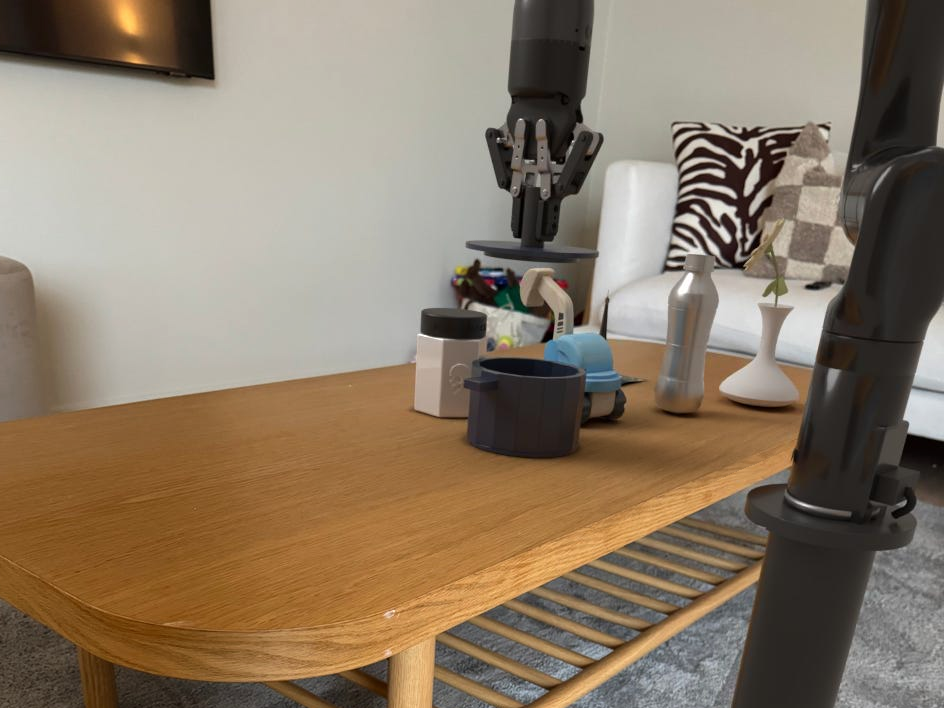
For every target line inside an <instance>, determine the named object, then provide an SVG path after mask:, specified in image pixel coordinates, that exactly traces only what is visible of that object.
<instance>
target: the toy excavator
mask: <svg viewBox="0 0 944 708" xmlns="http://www.w3.org/2000/svg"><path fill="white" fill-rule="evenodd" d="M555 273H556V272H555V270H554V269H553V268H551V267H534V268H530V269H528V270H527V271H526V272H525V273H524V275H523V277H522V279H521V282H520V286H519V295H520V301H521V302H522V304H523V305H524V306H525V307H526V308H529V307H530V308H531V307H532V308H533V307H543V306H544V302H546V303H547V305H548V306H549V308H550V309H551V310H552V312H553V313H554V329H553V337H552V339H550V340H548V341H547V342H546V343H545V346H544V351H543V359H545V360H552V361H558V362H563V363H567V364H572V365H575V366H577V367H580V368H584V369H586V373H587V375H586V384H585V392H584V400H583V408H582V417H581V425H582V424H585V423H586V422H587V421H588V420H589V419H593V418H598V417H599V418H601V419H604V420H606V421H611V420H617V419H620V418H621V417H622V416H623V415H624V414H625V411H626V408H625V404H626V403H627V397H626V394H625V392H624V391H623V389H622V384H621V379H622V377H621V376H620V375H621V374H619V375H618V371H617V370H616V369H615V368H614V355H613V351H612V349H611V346H610V344H609V343H608V340H607V341H606V340H605V339H604V338H603V337H602V336H601V335H599V333H596V332H582V333H581V332H580V333H574V325H575V323H574V319H575V316H574V304H573V301H572V299H571V297H570V296H569V294H568V293H566V291H565V290H564V289H563V288H562V287H561V286H559V284H558V283H557V282H556V281H555V280H554V276H555Z"/></svg>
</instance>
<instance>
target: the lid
mask: <svg viewBox="0 0 944 708" xmlns="http://www.w3.org/2000/svg"><path fill="white" fill-rule="evenodd" d="M539 200H540V201H543V199H542V198H541V194H540V186H536V187H533V186H526V187H525V198H524V210H523V222H522V234H521V239H520V241H513V240H512V241H511V240H487V239H485V240H479V239H478V240H477V239H476V240H475V239H474V240H466V241H465V242H464V244H465V245H464V246H465V248H466V249H469V250H474V251H478V252H483V256H485V257H489V258H494V259H503V260H510V261H519V262H520V261H522V262H531V263H547V264H576V263H579V262H580V260H582V259H583V260H587V259H598V258H599V257H600V256H599V255H600V251H599V250H596V249H591V248H585V247H579V246H578V247H577V246H569V245H560V244H553V243H545V242H542V241H537V240H536V238H535V234H536V223H537V212H538V201H539Z"/></svg>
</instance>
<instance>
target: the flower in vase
mask: <svg viewBox="0 0 944 708" xmlns="http://www.w3.org/2000/svg"><path fill="white" fill-rule="evenodd" d="M785 223H786V222H785V217H782V218H781V219H780V218H779V219H777V220H776V222H775V223H774V225H773V227H772V229H771V231H770V232H766V233H765V234H764V236H763V237H762V240H761V244H759V246H758V247H757V248H755V249H753V250H752V251H751V253H750V255H749V256H750V258H749V259H748V260H747V261H746V262H745V263H744V265H742V266H743V268H744V270H743V271H744V272H749V271H750V270H751V269H752V268H753V267H755V265H757V263H758V262H759V261H760V260H761V259H762V257H763V256H764V255H765V254H769V253H770V255H771V258H772V261H773V266H774V271H775V279H774V280H772V281H771V282H770V283H769V284H768V285H767V286H766V288H765V289H764V292H763V293H762V295H761V296H762V297H763V298H766V297H769V295H771V293H772V294H774V296H775V298H774V303H773V302H758V303H757V307H758V309H759V311H760V314H761V325H762V326H761V327H762V328H761V336H760V337H761V338H760V343H759V347H758V351H757V354H756V356H755V357H754V359H753V360H751V362H749V363H748V364H746V365H745V366H743V367H741V368H740V369H738V370H737V371H735V372H733V373H732V374H731V375H729V376H728V377H726V378H725V379H724V380H722V382H721V383H720V385H719V386H718V390H719V393H720V394H721V395H722V396H724V397H725V398H727V399H728V400H730V401H734V402H737V403H740V404H743V405H748V406H755V407H763V408H777V407H786V406H789V405H792V404H795V403H797V401H798V400H799V399H800V393H799V390H798V389H797V387H796V386H795V384H794V383H793V381H791V379H790V378H789V377H788V376H787V375H786V373H785V372H784V371H783V370H782V369H781V368H780V366H779V365H778V363H777V359H776V350H777V343H778V339H779V335H780V333H781V329H782V327H783V325H784V322H785V320H786V319H787V317H788V315H790V313H792V311H793V310H794V309H795V306H794V305H789V304H782V303H778V301H779V297H782V296H784V295H786V294H788V293H789V289H788V286H787V284H786V281H785V278H784V276H780V273H779V267H778V263H777V258H776V256H775V252H774V251H775V250H774V245H773V243H774V241H776V239H777V237H778V236H779V234H780V232H781V231H782V230H783V227H784V225H785Z"/></svg>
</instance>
